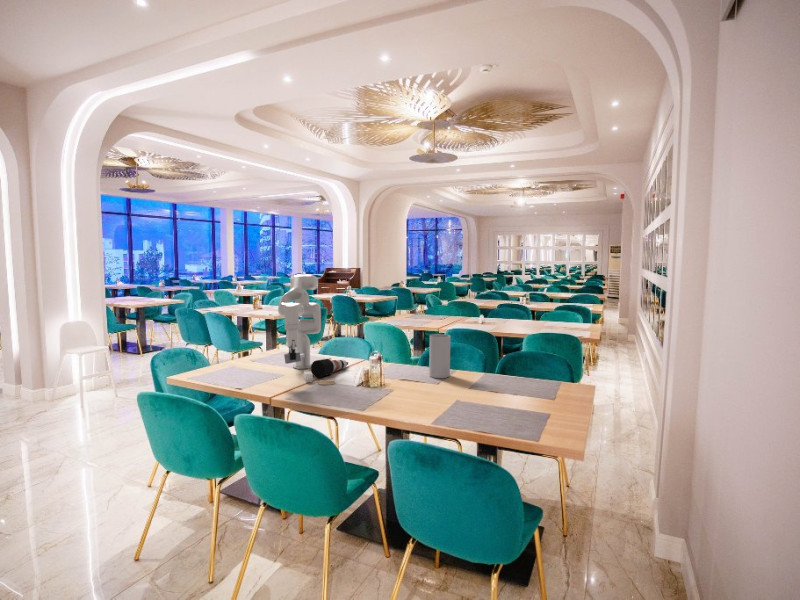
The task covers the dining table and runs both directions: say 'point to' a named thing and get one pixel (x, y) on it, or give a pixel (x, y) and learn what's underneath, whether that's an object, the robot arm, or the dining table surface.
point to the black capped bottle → (327, 366)
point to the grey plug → (298, 358)
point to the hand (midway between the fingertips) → (292, 358)
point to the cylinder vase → (439, 356)
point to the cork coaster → (326, 382)
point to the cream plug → (308, 376)
